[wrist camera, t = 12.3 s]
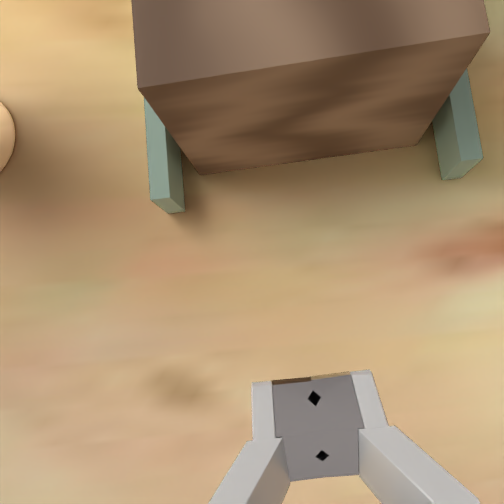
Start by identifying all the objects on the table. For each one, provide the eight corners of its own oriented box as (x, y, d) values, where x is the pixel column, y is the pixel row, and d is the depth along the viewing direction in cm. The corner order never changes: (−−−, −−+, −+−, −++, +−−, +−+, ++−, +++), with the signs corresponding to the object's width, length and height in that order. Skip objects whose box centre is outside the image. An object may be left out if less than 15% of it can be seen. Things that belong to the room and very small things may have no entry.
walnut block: (200, 175, 26) (137, 88, 16) (183, -13, 28) (117, -194, 18) (415, 146, 25) (490, 32, 15) (382, -48, 27) (429, -263, 17)
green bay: (167, 213, 26) (108, 167, 18) (150, -38, 28) (91, -177, 20) (461, 177, 24) (538, 109, 16) (415, -85, 27) (463, -254, 19)
